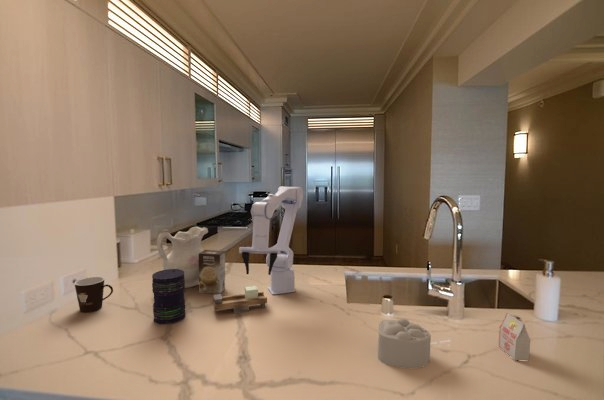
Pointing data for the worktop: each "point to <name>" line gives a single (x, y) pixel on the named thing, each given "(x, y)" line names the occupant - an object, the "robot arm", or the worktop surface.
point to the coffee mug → (90, 293)
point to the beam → (238, 302)
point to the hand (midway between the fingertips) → (258, 274)
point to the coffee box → (211, 271)
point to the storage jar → (168, 296)
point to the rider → (251, 292)
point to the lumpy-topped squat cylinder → (403, 344)
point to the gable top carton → (514, 338)
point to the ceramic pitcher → (183, 253)
